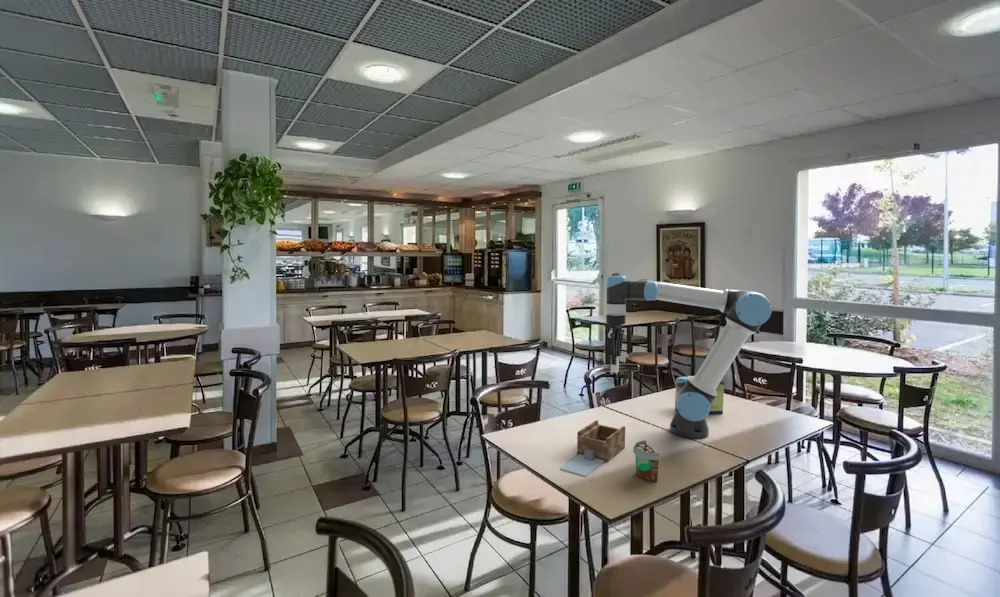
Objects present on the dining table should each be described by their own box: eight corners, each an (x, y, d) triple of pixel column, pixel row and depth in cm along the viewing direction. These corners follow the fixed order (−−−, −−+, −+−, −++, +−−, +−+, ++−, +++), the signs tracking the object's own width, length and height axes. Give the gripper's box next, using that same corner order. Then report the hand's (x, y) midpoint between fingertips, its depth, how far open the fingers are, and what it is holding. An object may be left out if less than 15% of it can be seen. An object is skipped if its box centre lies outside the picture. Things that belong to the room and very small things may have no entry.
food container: (627, 468, 170) (628, 440, 169) (644, 467, 170) (645, 439, 169) (640, 484, 158) (641, 454, 157) (659, 484, 158) (659, 454, 157)
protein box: (723, 414, 227) (724, 381, 226) (689, 414, 227) (691, 381, 226) (714, 407, 238) (715, 375, 236) (681, 407, 238) (682, 375, 236)
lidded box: (596, 440, 195) (596, 420, 194) (624, 448, 187) (625, 426, 187) (577, 454, 182) (577, 431, 181) (607, 462, 175) (607, 439, 174)
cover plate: (579, 456, 181) (579, 446, 181) (604, 463, 175) (604, 452, 175) (559, 471, 169) (560, 459, 169) (585, 478, 163) (586, 467, 163)
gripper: (613, 312, 204) (612, 367, 206) (600, 315, 193) (599, 373, 195) (631, 313, 199) (629, 370, 201) (618, 316, 189) (616, 376, 191)
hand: (614, 371), depth 198 cm, fingers closed
